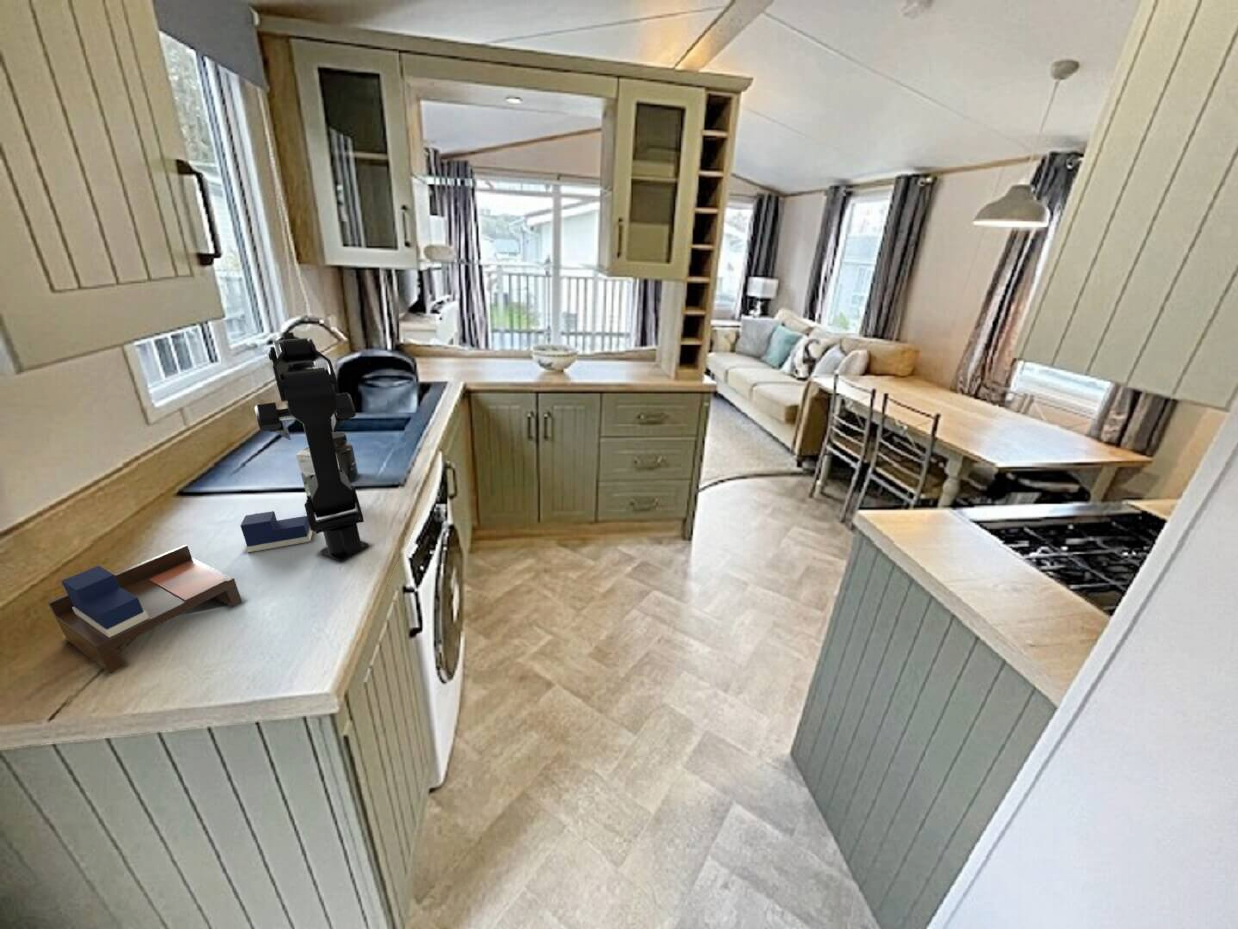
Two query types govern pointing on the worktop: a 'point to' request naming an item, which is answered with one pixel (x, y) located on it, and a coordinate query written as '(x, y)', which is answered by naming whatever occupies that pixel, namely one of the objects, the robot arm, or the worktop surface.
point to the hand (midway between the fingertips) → (312, 434)
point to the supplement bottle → (345, 455)
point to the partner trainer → (103, 601)
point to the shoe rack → (148, 601)
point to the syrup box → (305, 467)
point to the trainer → (274, 531)
